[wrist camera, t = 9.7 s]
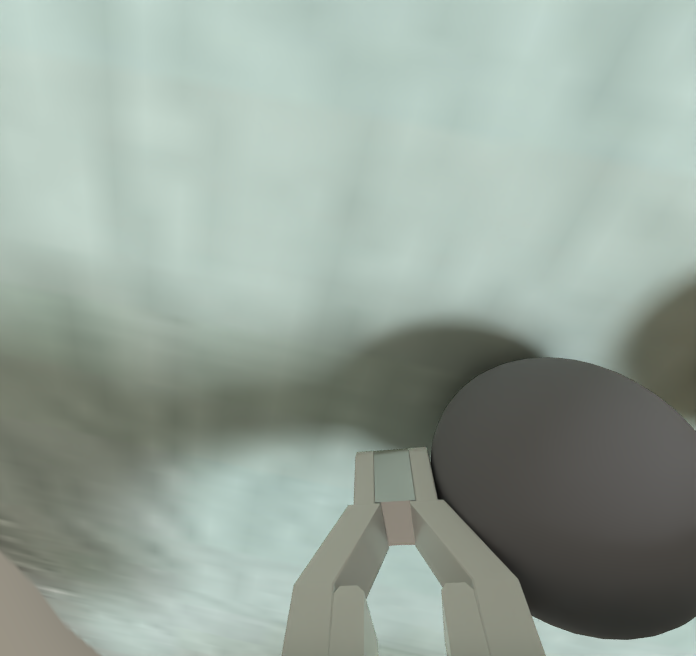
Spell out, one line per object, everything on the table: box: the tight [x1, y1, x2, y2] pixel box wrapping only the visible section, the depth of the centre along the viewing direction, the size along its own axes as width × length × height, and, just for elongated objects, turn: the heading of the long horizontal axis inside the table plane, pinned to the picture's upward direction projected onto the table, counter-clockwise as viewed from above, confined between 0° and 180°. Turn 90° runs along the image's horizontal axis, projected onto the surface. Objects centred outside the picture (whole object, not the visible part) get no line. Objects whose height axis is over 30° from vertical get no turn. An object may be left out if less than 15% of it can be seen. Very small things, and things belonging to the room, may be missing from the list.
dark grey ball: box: [431, 357, 696, 640], centre depth 8 cm, size 6×6×6 cm
